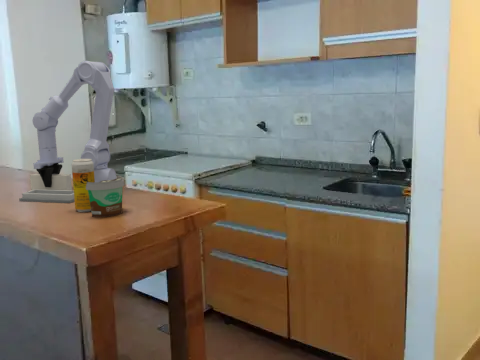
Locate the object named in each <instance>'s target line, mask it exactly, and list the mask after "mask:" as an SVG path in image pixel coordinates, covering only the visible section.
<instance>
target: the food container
mask: <svg viewBox="0 0 480 360" xmlns="http://www.w3.org/2000/svg"><path fill="white" fill-rule="evenodd" d="M125 185H126V184H125V179H124V178H123V177H122V176H121V175H116V179H113V180H103V181H100V182H87V185H86V190H88V194H89V200H90V206H91V211H90V212H91V216H92V217H94V218H107V217H114V216H117V215H120V214H122V213H123V187H124V186H125Z"/></svg>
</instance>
